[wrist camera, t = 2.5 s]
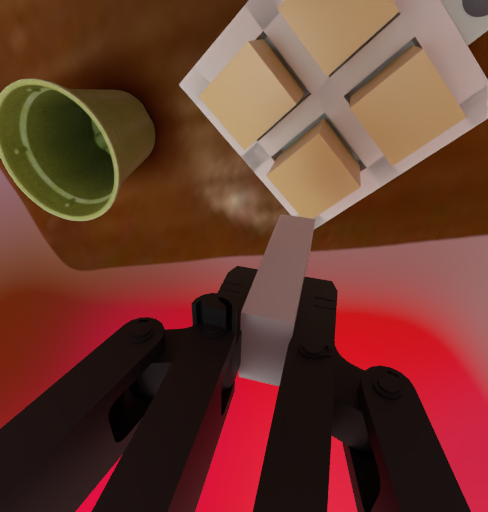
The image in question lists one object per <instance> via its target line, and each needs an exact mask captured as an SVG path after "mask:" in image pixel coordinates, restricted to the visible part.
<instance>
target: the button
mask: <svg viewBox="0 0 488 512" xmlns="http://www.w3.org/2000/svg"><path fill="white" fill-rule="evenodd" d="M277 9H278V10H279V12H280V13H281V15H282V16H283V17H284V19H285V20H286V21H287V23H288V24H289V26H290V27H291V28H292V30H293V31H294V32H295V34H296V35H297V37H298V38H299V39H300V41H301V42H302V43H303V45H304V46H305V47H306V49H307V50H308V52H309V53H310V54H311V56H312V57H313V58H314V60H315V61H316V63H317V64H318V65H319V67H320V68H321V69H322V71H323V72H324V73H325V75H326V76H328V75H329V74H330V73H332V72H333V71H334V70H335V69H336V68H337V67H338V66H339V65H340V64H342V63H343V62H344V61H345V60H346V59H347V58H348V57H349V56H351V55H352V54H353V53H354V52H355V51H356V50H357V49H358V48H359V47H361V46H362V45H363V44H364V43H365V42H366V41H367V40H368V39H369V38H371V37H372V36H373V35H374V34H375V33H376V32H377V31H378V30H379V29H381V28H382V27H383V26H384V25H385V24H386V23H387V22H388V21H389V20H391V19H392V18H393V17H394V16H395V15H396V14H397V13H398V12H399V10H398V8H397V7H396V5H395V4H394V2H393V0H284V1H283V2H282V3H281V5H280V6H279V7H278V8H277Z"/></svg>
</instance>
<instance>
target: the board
mask: <svg viewBox="0 0 488 512" xmlns="http://www.w3.org/2000/svg"><path fill="white" fill-rule="evenodd" d="M283 1H284V0H249V1H248V2H247V3H246V4H245V5H244V7H243V8H242V9H241V10H240V11H239V13H238V14H237V15H236V16H235V18H234V19H233V20H232V21H231V22H230V24H229V25H228V26H227V27H226V28H225V30H224V31H223V32H222V33H221V34H220V36H219V37H218V38H217V39H216V40H215V42H214V43H213V44H212V45H211V46H210V48H209V49H208V50H207V51H206V52H205V54H204V55H203V56H202V57H201V59H200V60H199V61H198V62H197V63H196V65H195V66H194V67H193V68H192V69H191V71H190V72H189V73H188V74H187V75H186V77H185V78H184V79H183V80H182V81H181V83H180V84H179V85H180V87H181V88H182V89H183V90H184V91H185V92H186V94H187V95H188V96H189V97H190V98H191V99H192V101H193V102H194V103H195V104H196V105H197V106H198V108H199V109H200V110H201V111H202V112H203V113H204V115H205V116H206V117H207V118H208V119H209V120H210V121H211V123H212V124H213V125H214V126H215V127H216V128H217V130H218V131H219V132H220V133H221V134H222V135H223V137H224V138H225V139H226V140H227V141H228V142H229V144H230V145H231V146H232V147H233V148H234V149H235V151H236V152H237V153H238V154H239V155H240V156H241V158H242V159H243V160H244V161H245V162H246V163H247V165H248V166H249V167H250V168H251V169H252V170H253V171H254V173H255V174H256V175H257V176H258V177H259V178H260V180H261V181H262V182H263V183H264V184H265V185H266V187H267V188H268V189H269V190H270V191H271V192H272V194H273V195H274V196H275V197H276V198H277V199H278V201H279V202H280V203H281V204H282V205H283V206H284V208H285V209H286V210H287V211H288V212H289V213H290V214H291V216H297V217H301V216H300V215H299V214H298V213H297V211H296V210H295V209H294V208H293V207H292V205H291V204H290V203H289V202H288V201H287V200H286V198H285V197H284V196H283V195H282V194H281V193H280V191H279V190H278V189H277V188H276V187H275V186H274V184H273V183H272V182H271V181H270V180H269V178H268V177H267V176H266V175H267V174H268V172H269V170H270V169H271V167H272V165H273V164H274V162H275V160H276V159H277V157H278V156H279V155H280V154H281V153H283V152H284V151H285V150H286V149H287V148H289V147H290V146H291V145H292V144H293V143H295V142H296V141H297V140H298V139H299V138H301V137H302V136H303V135H304V134H306V133H307V132H308V131H309V130H310V129H312V128H313V127H314V126H315V125H316V124H318V123H319V122H320V121H321V120H322V119H325V120H326V121H327V123H328V124H329V125H330V127H331V128H332V129H333V131H334V132H335V133H336V134H337V136H338V137H339V138H340V140H341V141H342V142H343V144H344V145H345V146H346V148H347V149H348V150H349V152H350V153H351V154H352V156H353V157H354V158H355V160H356V161H357V162H358V163H359V165H360V180H361V187H360V188H359V189H357V190H356V191H354V192H353V193H351V194H350V195H348V196H347V197H345V198H344V199H342V200H341V201H339V202H337V203H336V204H334V205H333V206H331V207H330V208H328V209H327V210H325V211H324V212H322V213H321V214H319V215H318V216H316V217H315V218H313V219H315V224H314V229H316V228H317V227H319V226H320V225H322V224H324V223H325V222H327V221H328V220H330V219H331V218H333V217H335V216H336V215H338V214H339V213H341V212H342V211H344V210H345V209H347V208H349V207H350V206H352V205H353V204H355V203H356V202H358V201H360V200H361V199H363V198H364V197H366V196H367V195H369V194H371V193H372V192H374V191H375V190H377V189H378V188H380V187H381V186H383V185H385V184H386V183H388V182H389V181H391V180H392V179H394V178H396V177H397V176H399V175H400V174H402V173H403V172H405V171H407V170H408V169H410V168H411V167H413V166H414V165H416V164H417V163H419V162H421V161H422V160H424V159H425V158H427V157H428V156H430V155H432V154H433V153H435V152H436V151H438V150H439V149H441V148H442V147H444V146H446V145H447V144H449V143H450V142H452V141H453V140H455V139H457V138H458V137H460V136H461V135H463V134H464V133H466V132H468V131H469V130H471V129H472V128H474V127H475V126H477V125H478V124H480V123H482V122H483V121H485V120H486V119H488V79H487V78H486V76H485V74H484V73H483V71H482V69H481V68H480V66H479V64H478V63H477V61H476V59H475V58H474V56H473V54H472V53H471V51H470V49H469V48H468V46H467V44H466V43H465V41H464V39H463V38H462V36H461V34H460V32H459V31H458V29H457V27H456V26H455V24H454V22H453V21H452V19H451V17H450V16H449V14H448V12H447V11H446V9H445V7H444V6H443V4H442V2H441V1H440V0H393V2H394V4H395V5H396V7H397V8H398V10H399V12H398V13H397V14H396V15H395V16H394V17H393V18H392V19H391V20H389V21H388V22H387V23H386V24H385V25H384V26H383V27H382V28H381V29H379V30H378V31H377V32H376V33H375V34H374V35H373V36H372V37H371V38H369V39H368V40H367V41H366V42H365V43H364V44H363V45H362V46H361V47H359V48H358V49H357V50H356V51H355V52H354V53H353V54H352V55H351V56H349V57H348V58H347V59H346V60H345V61H344V62H343V63H342V64H340V65H339V66H338V67H337V68H336V69H335V70H334V71H333V72H332V73H330V74H329V75H328V76H326V75H325V73H324V72H323V71H322V69H321V68H320V67H319V65H318V64H317V63H316V61H315V60H314V58H313V57H312V56H311V54H310V53H309V52H308V50H307V49H306V47H305V46H304V45H303V43H302V42H301V41H300V39H299V38H298V37H297V35H296V34H295V32H294V31H293V30H292V28H291V27H290V26H289V24H288V23H287V21H286V20H285V19H284V17H283V16H282V15H281V13H280V12H279V10H278V9H277V8H278V7H279V6H280V5H281V3H282V2H283ZM260 39H264V40H265V41H266V42H267V44H268V45H269V46H270V48H271V49H272V50H273V51H274V53H275V54H276V55H277V57H278V58H279V59H280V61H281V62H282V63H283V65H284V66H285V67H286V69H287V70H288V71H289V73H290V74H291V75H292V76H293V78H294V79H295V80H296V82H297V83H298V84H299V86H300V87H301V88H302V90H303V91H304V92H305V93H304V95H303V96H302V97H301V99H300V100H299V101H298V103H297V104H296V105H295V106H294V107H293V108H292V109H290V110H289V111H288V112H287V113H286V114H285V115H284V116H283V117H282V118H280V119H279V120H278V121H277V122H276V123H275V124H274V125H273V126H272V127H270V128H269V129H268V130H267V131H266V132H265V133H264V134H263V135H262V136H260V137H259V138H258V139H257V140H256V141H255V142H254V143H253V144H252V145H250V146H249V147H248V148H247V149H246V150H244V149H243V148H242V147H241V146H240V144H239V143H238V142H237V141H236V140H235V139H234V137H233V136H232V135H231V134H230V133H229V132H228V130H227V129H226V128H225V127H224V126H223V124H222V123H221V122H220V121H219V120H218V119H217V117H216V116H215V115H214V114H213V113H212V112H211V110H210V109H209V108H208V107H207V106H206V105H205V103H204V102H203V101H202V100H201V99H200V97H199V95H200V94H201V93H202V92H203V91H204V90H205V89H206V88H207V86H208V85H209V84H210V83H211V82H212V81H213V80H214V79H215V78H216V76H217V75H218V74H219V73H220V72H221V71H222V70H223V69H224V67H225V66H226V65H227V64H228V63H229V62H230V61H231V60H232V58H233V57H234V56H235V55H236V54H237V53H238V52H239V51H240V49H241V48H242V47H243V46H244V45H245V44H246V43H247V42H248V41H253V40H260ZM412 45H413V46H416V47H419V48H422V49H424V51H425V52H426V54H427V56H428V57H429V59H430V60H431V62H432V63H433V65H434V67H435V68H436V70H437V71H438V73H439V74H440V76H441V78H442V79H443V81H444V82H445V84H446V86H447V87H448V89H449V90H450V92H451V93H452V95H453V97H454V98H455V100H456V101H457V103H458V104H459V106H460V108H461V109H462V111H463V112H464V114H465V115H466V118H465V119H463V120H462V121H460V122H459V123H457V124H456V125H454V126H453V127H451V128H450V129H448V130H447V131H445V132H443V133H442V134H440V135H439V136H437V137H436V138H434V139H433V140H431V141H430V142H428V143H427V144H425V145H424V146H422V147H421V148H419V149H418V150H416V151H415V152H413V153H412V154H410V155H409V156H407V157H406V158H404V159H403V160H401V161H400V162H398V163H397V164H395V165H394V166H392V165H391V164H390V163H389V161H388V160H387V158H386V157H385V156H384V154H383V153H382V152H381V150H380V149H379V147H378V146H377V145H376V143H375V142H374V141H373V139H372V138H371V136H370V135H369V134H368V132H367V131H366V130H365V128H364V127H363V126H362V124H361V123H360V121H359V120H358V119H357V117H356V116H355V115H354V113H353V112H352V110H351V109H350V98H351V95H353V94H354V93H355V92H356V91H357V90H359V89H360V88H361V87H362V86H363V85H365V84H366V83H367V82H368V81H369V80H371V79H372V78H373V77H374V76H376V75H377V74H378V73H379V72H380V71H382V70H383V69H384V68H385V67H386V66H388V65H389V64H390V63H391V62H392V61H394V60H395V59H396V58H397V57H398V56H400V55H401V54H402V53H403V52H404V51H406V50H407V49H408V48H409V47H410V46H412Z"/></svg>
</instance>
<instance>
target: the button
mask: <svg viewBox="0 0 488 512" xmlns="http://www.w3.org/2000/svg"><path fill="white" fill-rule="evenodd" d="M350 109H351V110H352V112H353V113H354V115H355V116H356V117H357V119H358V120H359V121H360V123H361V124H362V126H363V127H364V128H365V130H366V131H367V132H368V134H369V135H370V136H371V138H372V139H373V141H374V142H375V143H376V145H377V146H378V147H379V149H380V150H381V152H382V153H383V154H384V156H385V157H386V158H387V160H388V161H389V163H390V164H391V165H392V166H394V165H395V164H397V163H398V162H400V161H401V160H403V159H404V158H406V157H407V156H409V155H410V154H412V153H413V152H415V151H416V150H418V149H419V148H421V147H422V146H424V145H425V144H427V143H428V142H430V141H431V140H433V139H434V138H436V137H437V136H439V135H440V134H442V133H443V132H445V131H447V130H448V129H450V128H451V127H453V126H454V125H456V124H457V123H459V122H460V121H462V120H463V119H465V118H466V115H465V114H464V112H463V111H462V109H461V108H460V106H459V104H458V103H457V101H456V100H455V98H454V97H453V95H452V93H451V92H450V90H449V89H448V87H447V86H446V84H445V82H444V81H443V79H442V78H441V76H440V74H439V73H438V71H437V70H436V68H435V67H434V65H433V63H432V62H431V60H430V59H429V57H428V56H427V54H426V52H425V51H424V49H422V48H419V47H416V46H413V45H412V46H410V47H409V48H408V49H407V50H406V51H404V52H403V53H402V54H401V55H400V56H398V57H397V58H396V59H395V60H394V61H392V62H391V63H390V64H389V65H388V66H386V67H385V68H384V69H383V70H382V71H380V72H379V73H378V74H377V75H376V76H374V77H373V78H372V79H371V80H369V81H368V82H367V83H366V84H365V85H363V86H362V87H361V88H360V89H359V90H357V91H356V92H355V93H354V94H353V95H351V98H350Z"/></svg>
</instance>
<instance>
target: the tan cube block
mask: <svg viewBox="0 0 488 512" xmlns="http://www.w3.org/2000/svg"><path fill="white" fill-rule="evenodd" d="M266 176H267V177H268V178H269V180H270V181H271V182H272V183H273V184H274V186H275V187H276V188H277V189H278V190H279V191H280V193H281V194H282V195H283V196H284V197H285V198H286V200H287V201H288V202H289V203H290V204H291V205H292V207H293V208H294V209H295V210H296V211H297V213H298V214H299V215H300V216H301V217H304V218H311V219H313V218H315V217H316V216H318V215H319V214H321V213H322V212H324V211H325V210H327V209H328V208H330V207H331V206H333V205H334V204H336V203H337V202H339V201H341V200H342V199H344V198H345V197H347V196H348V195H350V194H351V193H353V192H354V191H356V190H357V189H359V188H360V187H361V180H360V165H359V163H358V162H357V161H356V160H355V158H354V157H353V156H352V154H351V153H350V152H349V150H348V149H347V148H346V146H345V145H344V144H343V142H342V141H341V140H340V138H339V137H338V136H337V134H336V133H335V132H334V131H333V129H332V128H331V127H330V125H329V124H328V123H327V121H326V120H325V119H322V120H321V121H320V122H319V123H318V124H316V125H315V126H314V127H313V128H312V129H310V130H309V131H308V132H307V133H306V134H304V135H303V136H302V137H301V138H299V139H298V140H297V141H296V142H295V143H293V144H292V145H291V146H290V147H289V148H287V149H286V150H285V151H284V152H283V153H281V154H280V155H279V156H278V157H277V159H276V160H275V162H274V164H273V165H272V167H271V169H270V170H269V172H268V174H267V175H266Z"/></svg>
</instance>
